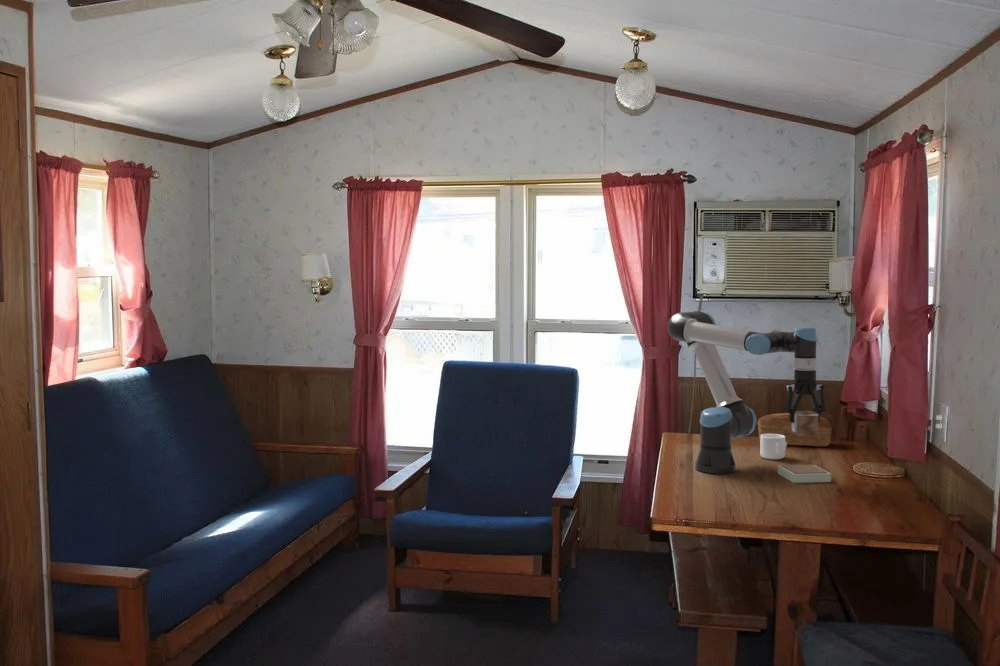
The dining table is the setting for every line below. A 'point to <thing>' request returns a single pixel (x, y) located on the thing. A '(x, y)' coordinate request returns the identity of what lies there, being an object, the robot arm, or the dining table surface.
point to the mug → (772, 446)
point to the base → (804, 473)
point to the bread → (783, 427)
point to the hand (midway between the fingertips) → (804, 431)
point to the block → (806, 423)
